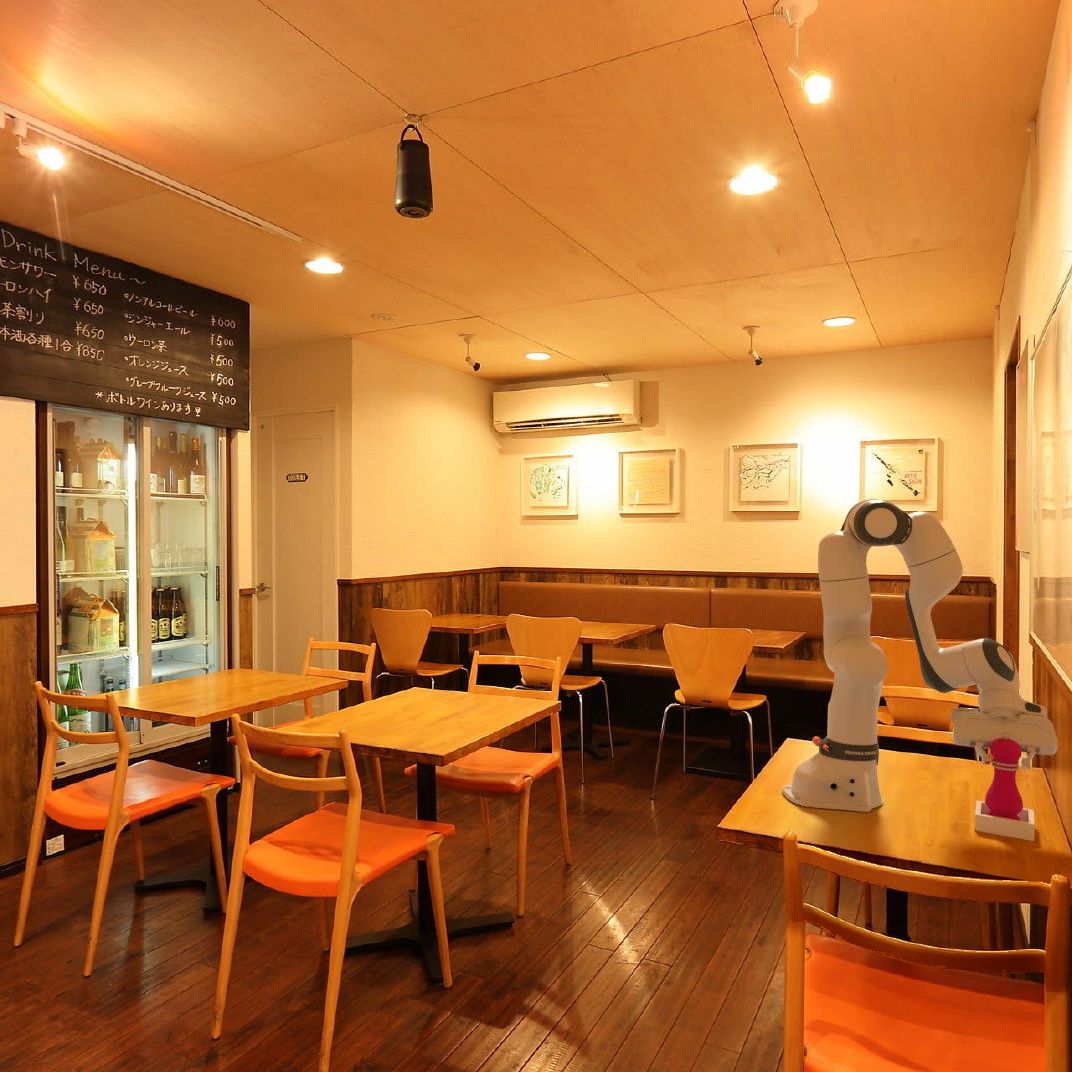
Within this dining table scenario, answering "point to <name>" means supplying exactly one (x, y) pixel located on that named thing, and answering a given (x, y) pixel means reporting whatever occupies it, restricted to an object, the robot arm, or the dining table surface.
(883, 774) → the dining table surface
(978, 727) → the robot arm
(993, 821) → the mill holder
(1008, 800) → the pepper mill
